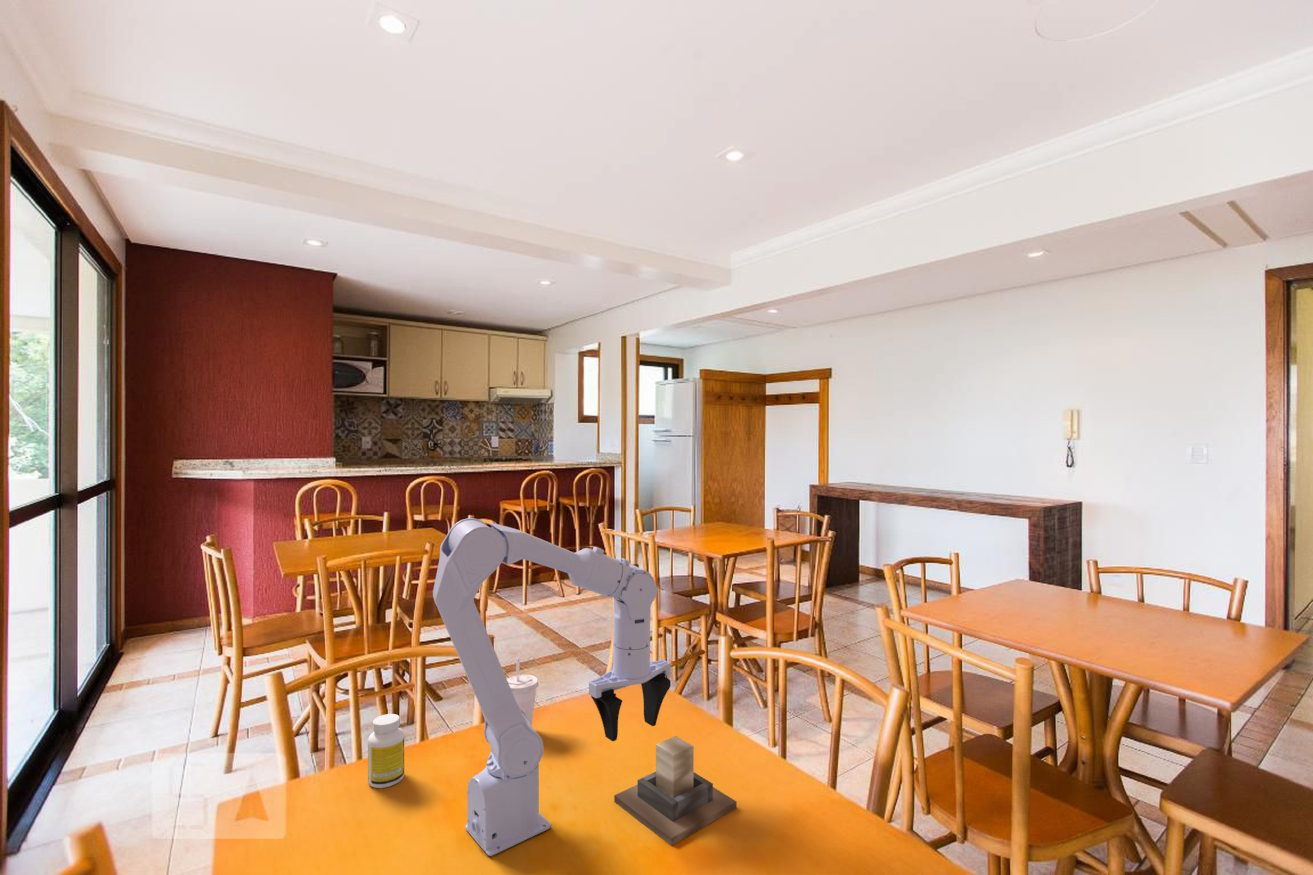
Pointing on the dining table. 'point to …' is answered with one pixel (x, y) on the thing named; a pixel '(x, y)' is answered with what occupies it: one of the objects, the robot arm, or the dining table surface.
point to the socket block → (675, 807)
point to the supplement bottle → (386, 752)
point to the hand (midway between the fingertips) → (631, 730)
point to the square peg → (674, 766)
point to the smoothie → (524, 691)
